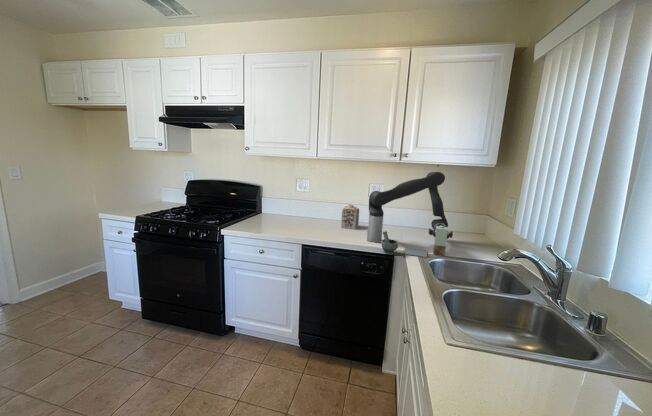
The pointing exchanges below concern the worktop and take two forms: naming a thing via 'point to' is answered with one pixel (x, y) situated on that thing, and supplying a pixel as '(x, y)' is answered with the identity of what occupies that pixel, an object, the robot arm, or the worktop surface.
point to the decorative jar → (350, 217)
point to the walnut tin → (439, 250)
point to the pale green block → (441, 236)
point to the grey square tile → (415, 252)
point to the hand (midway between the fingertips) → (441, 236)
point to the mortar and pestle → (388, 244)
